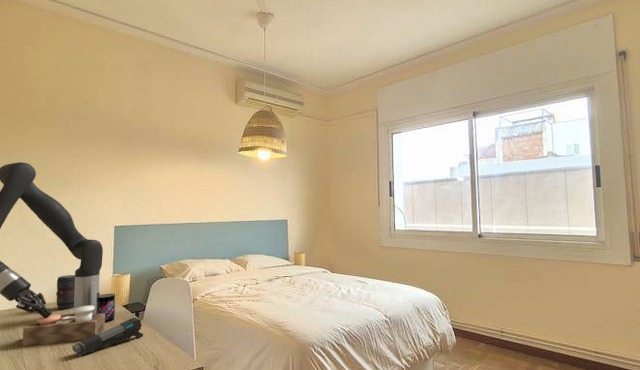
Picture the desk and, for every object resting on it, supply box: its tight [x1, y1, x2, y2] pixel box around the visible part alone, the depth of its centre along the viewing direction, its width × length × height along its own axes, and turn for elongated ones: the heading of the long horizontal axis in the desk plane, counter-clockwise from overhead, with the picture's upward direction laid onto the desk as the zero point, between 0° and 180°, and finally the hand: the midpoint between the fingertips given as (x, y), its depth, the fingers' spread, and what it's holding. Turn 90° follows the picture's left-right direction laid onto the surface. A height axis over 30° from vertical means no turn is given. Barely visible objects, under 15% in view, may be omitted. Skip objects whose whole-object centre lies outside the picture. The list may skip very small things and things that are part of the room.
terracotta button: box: [37, 314, 62, 325], centre depth 124 cm, size 7×7×7 cm
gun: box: [71, 317, 144, 357], centre depth 116 cm, size 4×20×10 cm, turn 142°
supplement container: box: [96, 293, 116, 324], centre depth 144 cm, size 7×7×10 cm
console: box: [22, 314, 106, 347], centre depth 125 cm, size 22×10×6 cm, turn 105°
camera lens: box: [56, 274, 75, 311], centre depth 164 cm, size 8×8×15 cm
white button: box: [72, 305, 95, 322], centre depth 127 cm, size 7×7×7 cm
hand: (49, 315), depth 124 cm, fingers closed
